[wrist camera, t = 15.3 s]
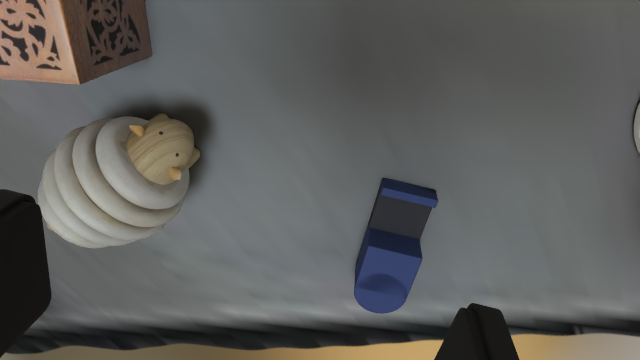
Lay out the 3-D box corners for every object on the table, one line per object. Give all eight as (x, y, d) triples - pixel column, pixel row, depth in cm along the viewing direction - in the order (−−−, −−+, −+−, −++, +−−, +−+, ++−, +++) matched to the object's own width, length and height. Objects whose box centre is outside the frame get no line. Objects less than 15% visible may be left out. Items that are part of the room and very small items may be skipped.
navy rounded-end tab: (382, 177, 39) (383, 198, 35) (435, 190, 39) (441, 212, 35) (350, 279, 45) (348, 306, 41) (396, 290, 45) (398, 318, 41)
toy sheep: (247, 149, 39) (204, 210, 29) (136, 236, 45) (70, 310, 35) (163, 57, 36) (84, 91, 26) (57, 163, 42) (-40, 223, 32)
